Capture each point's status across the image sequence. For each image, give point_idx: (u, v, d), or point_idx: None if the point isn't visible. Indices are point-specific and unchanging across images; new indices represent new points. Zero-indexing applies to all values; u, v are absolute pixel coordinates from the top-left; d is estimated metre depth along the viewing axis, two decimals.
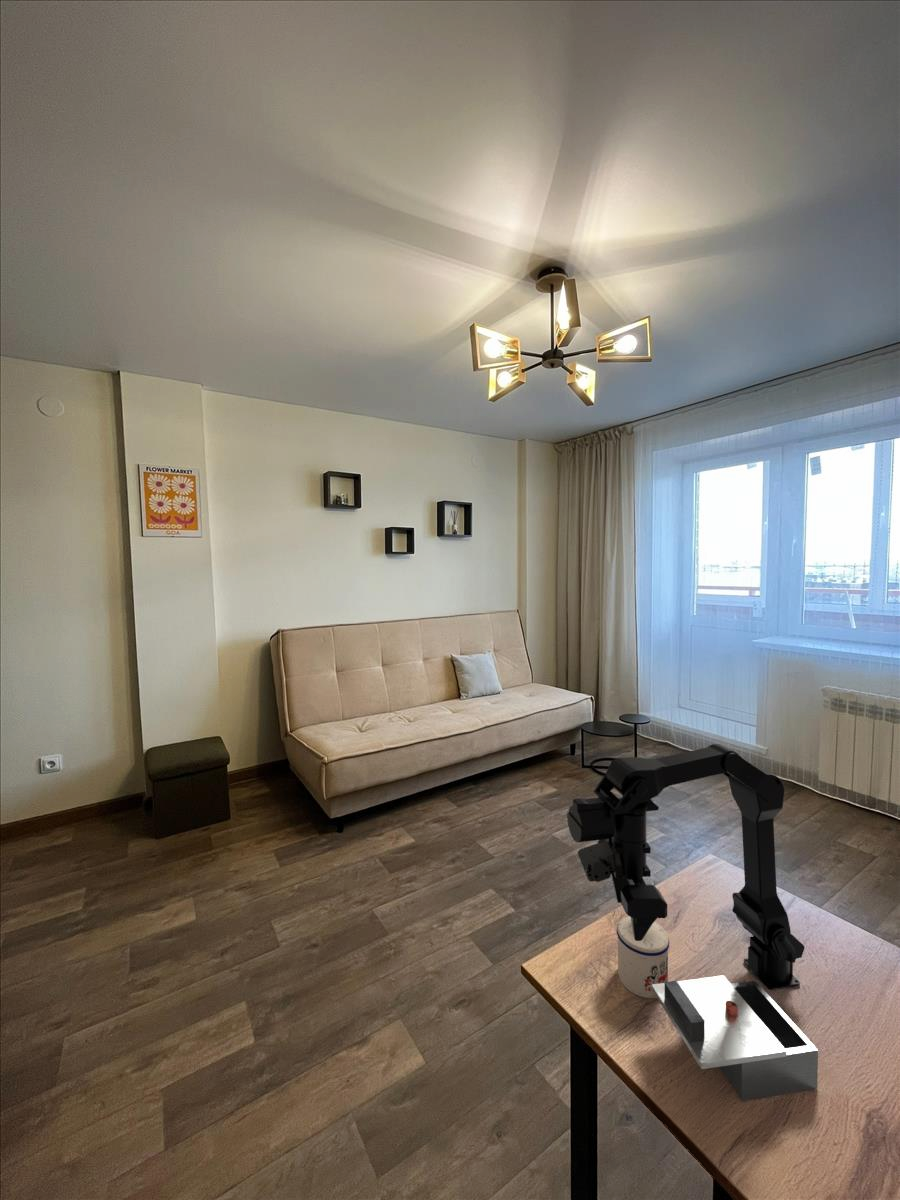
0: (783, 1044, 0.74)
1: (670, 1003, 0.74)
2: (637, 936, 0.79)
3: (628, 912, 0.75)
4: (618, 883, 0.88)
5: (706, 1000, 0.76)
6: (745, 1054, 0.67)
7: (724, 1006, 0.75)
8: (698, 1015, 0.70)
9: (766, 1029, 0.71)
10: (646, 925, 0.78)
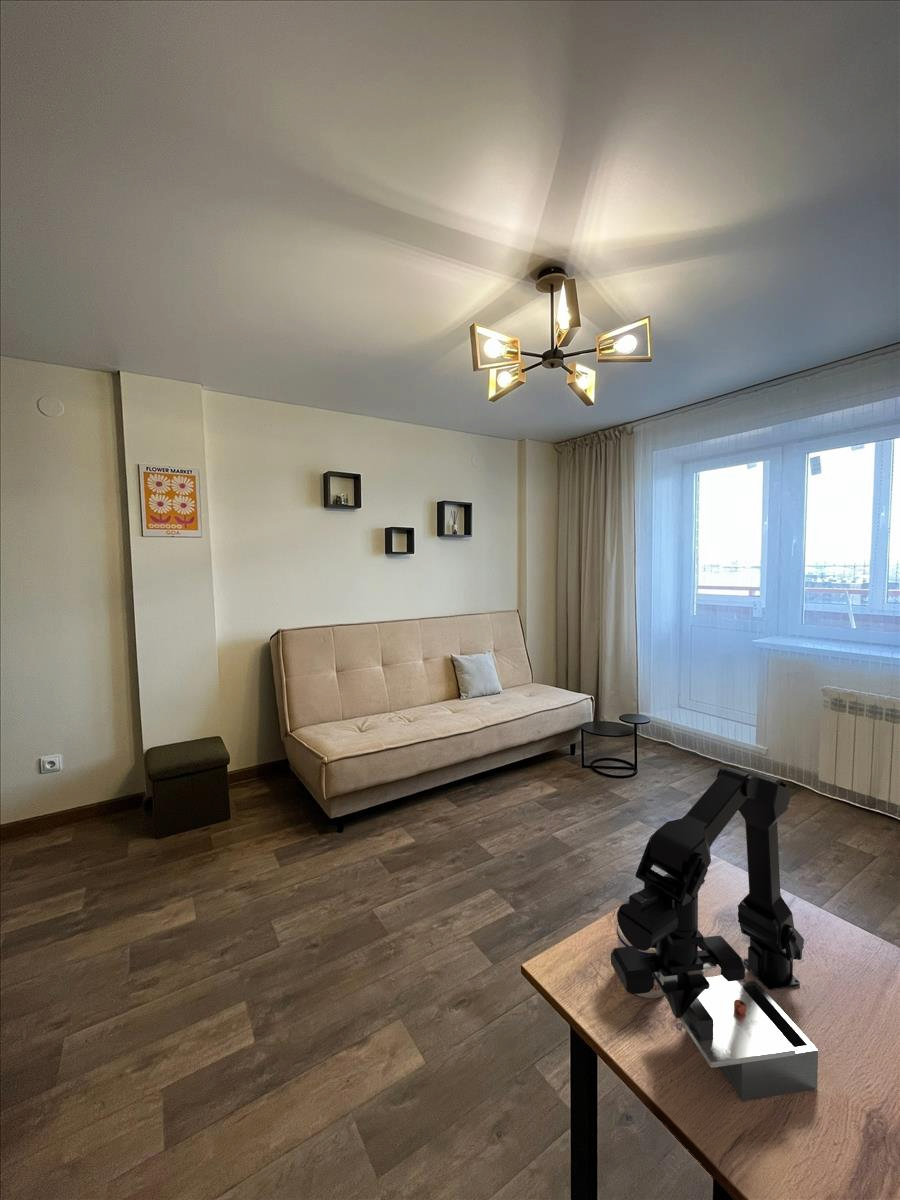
0: None
1: None
2: (672, 1009, 0.73)
3: None
4: None
5: (714, 999, 0.76)
6: (754, 1053, 0.67)
7: (732, 1005, 0.75)
8: (707, 1013, 0.70)
9: (775, 1028, 0.71)
10: (671, 1001, 0.71)
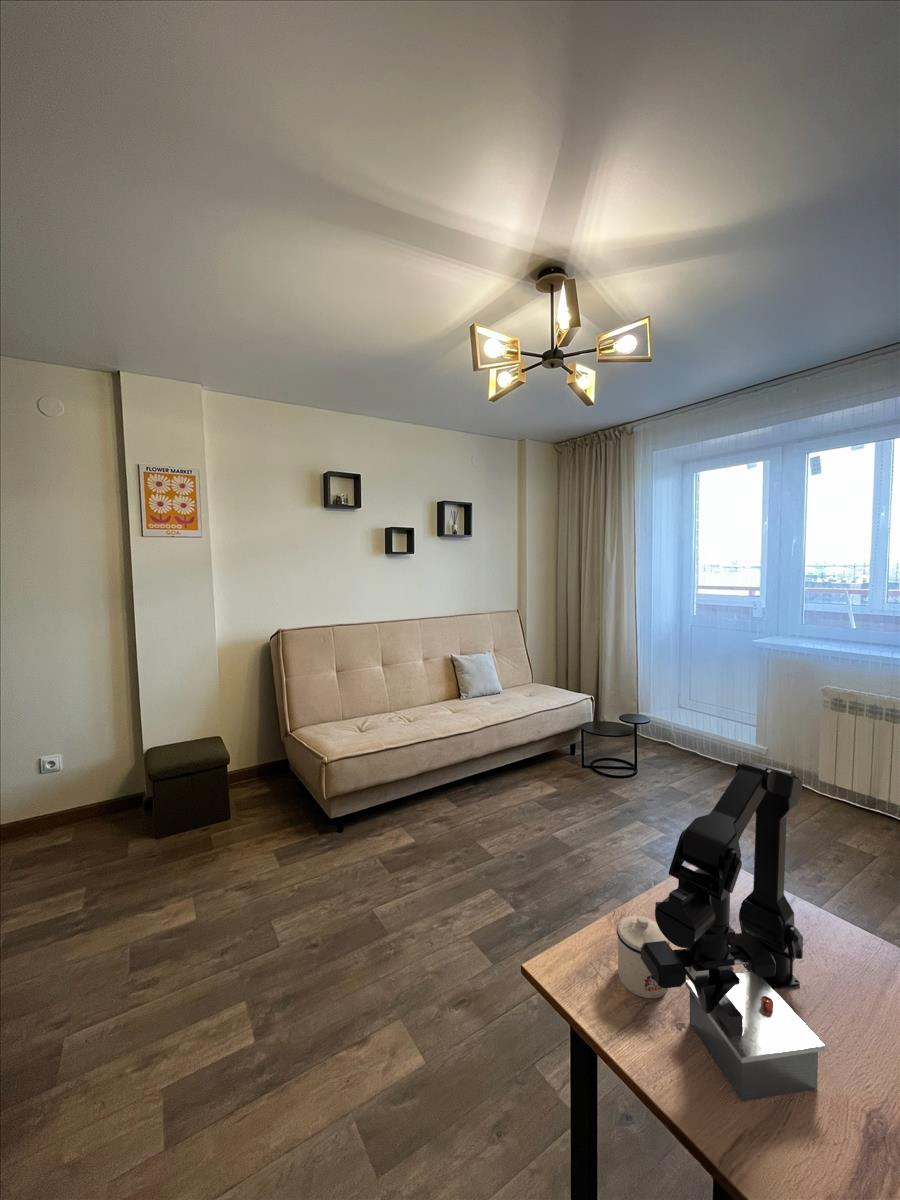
0: None
1: None
2: (701, 1004, 0.73)
3: None
4: None
5: (741, 995, 0.77)
6: (784, 1048, 0.68)
7: (759, 1001, 0.75)
8: (736, 1009, 0.71)
9: (803, 1024, 0.72)
10: (702, 996, 0.72)
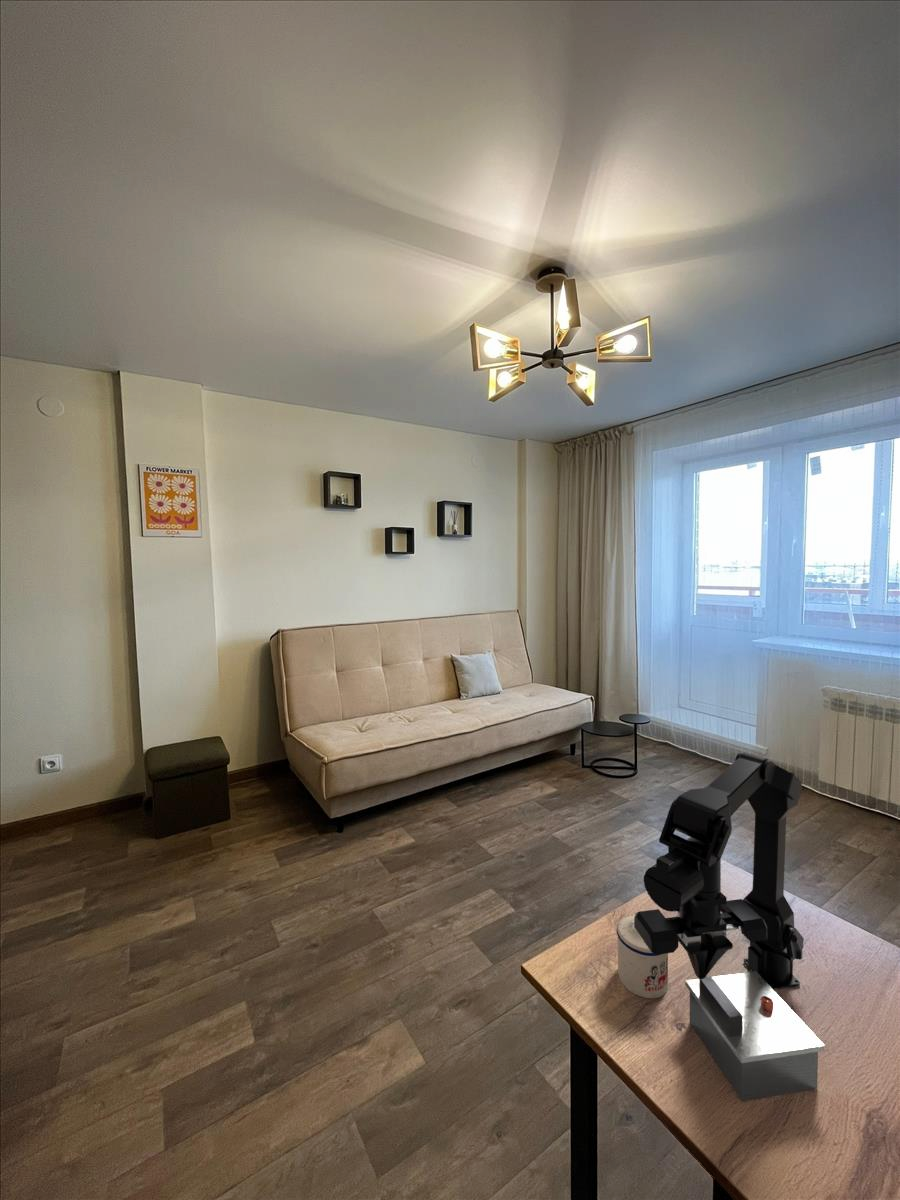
0: None
1: (706, 998, 0.75)
2: (695, 970, 0.74)
3: None
4: None
5: (741, 995, 0.77)
6: (784, 1048, 0.68)
7: (759, 1001, 0.75)
8: (735, 1009, 0.71)
9: (802, 1024, 0.72)
10: (695, 962, 0.73)
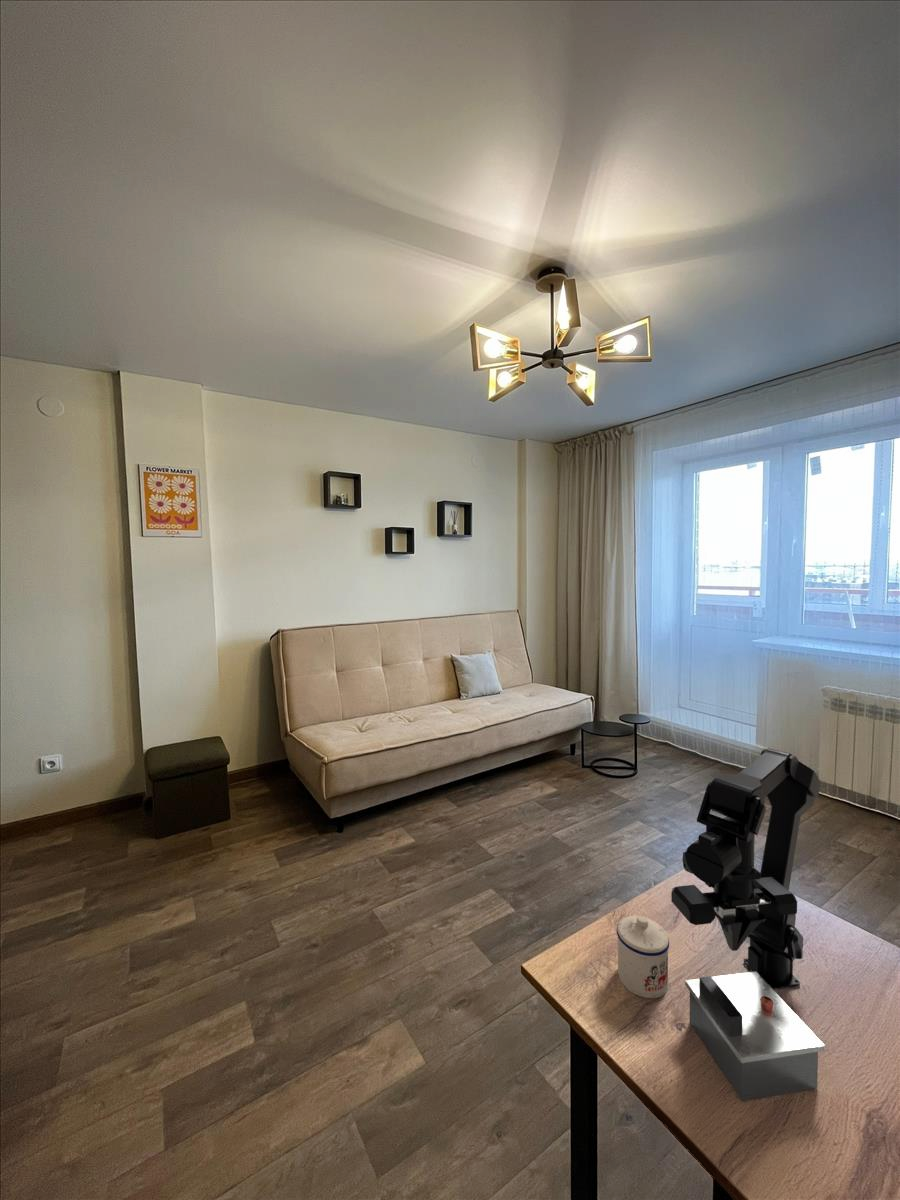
0: None
1: (706, 998, 0.75)
2: (728, 943, 0.79)
3: None
4: None
5: (741, 995, 0.77)
6: (784, 1048, 0.68)
7: (759, 1001, 0.75)
8: (735, 1009, 0.71)
9: (802, 1024, 0.72)
10: (729, 934, 0.78)
